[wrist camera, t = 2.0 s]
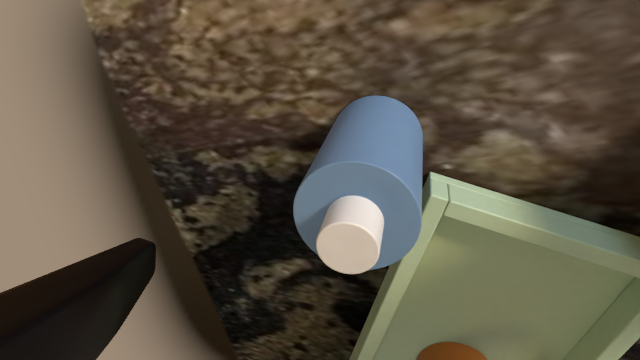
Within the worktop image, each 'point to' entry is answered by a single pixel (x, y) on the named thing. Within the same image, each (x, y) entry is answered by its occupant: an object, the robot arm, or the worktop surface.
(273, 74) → the worktop surface
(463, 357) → the amber bottle
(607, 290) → the tray
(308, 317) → the worktop surface
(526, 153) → the worktop surface
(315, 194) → the blue bottle
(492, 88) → the worktop surface
